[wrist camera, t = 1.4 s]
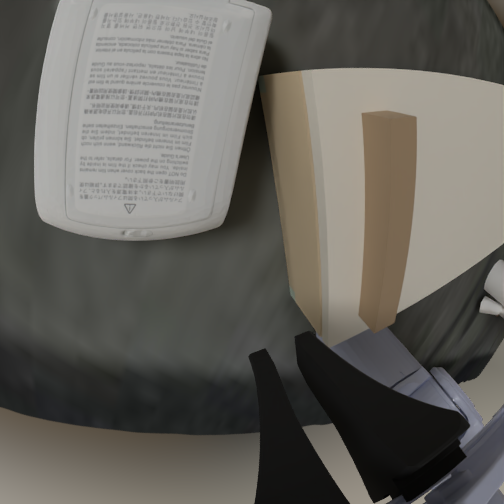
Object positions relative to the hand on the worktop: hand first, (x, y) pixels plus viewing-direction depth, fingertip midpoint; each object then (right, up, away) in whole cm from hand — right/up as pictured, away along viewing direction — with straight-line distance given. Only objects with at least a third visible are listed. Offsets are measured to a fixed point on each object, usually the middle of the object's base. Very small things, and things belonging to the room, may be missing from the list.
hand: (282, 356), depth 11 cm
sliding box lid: (+14, +9, +5) cm, 18 cm away
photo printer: (-5, +16, -3) cm, 17 cm away
